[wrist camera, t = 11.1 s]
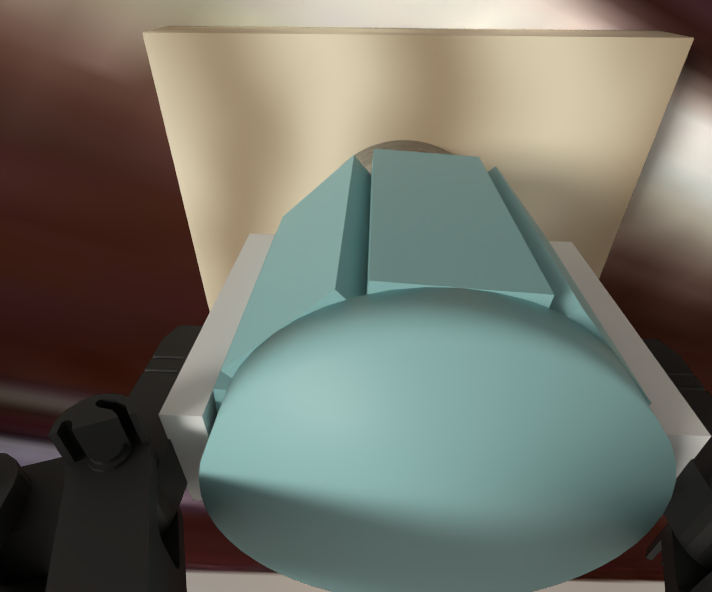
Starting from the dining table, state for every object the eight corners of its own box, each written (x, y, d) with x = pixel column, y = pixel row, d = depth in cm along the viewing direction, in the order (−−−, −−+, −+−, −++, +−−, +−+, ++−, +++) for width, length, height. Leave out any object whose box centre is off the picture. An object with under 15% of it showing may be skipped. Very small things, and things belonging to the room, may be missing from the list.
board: (228, 310, 22) (216, 337, 20) (168, 26, 15) (142, 32, 13) (557, 320, 21) (571, 348, 20) (658, 30, 14) (694, 38, 13)
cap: (386, 401, 16) (391, 628, 11) (224, 266, 13) (107, 488, 7) (586, 294, 13) (743, 537, 7) (437, 83, 10) (513, 225, 4)
